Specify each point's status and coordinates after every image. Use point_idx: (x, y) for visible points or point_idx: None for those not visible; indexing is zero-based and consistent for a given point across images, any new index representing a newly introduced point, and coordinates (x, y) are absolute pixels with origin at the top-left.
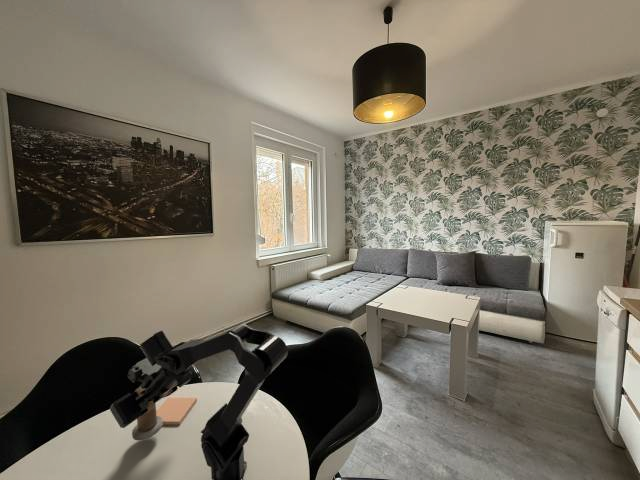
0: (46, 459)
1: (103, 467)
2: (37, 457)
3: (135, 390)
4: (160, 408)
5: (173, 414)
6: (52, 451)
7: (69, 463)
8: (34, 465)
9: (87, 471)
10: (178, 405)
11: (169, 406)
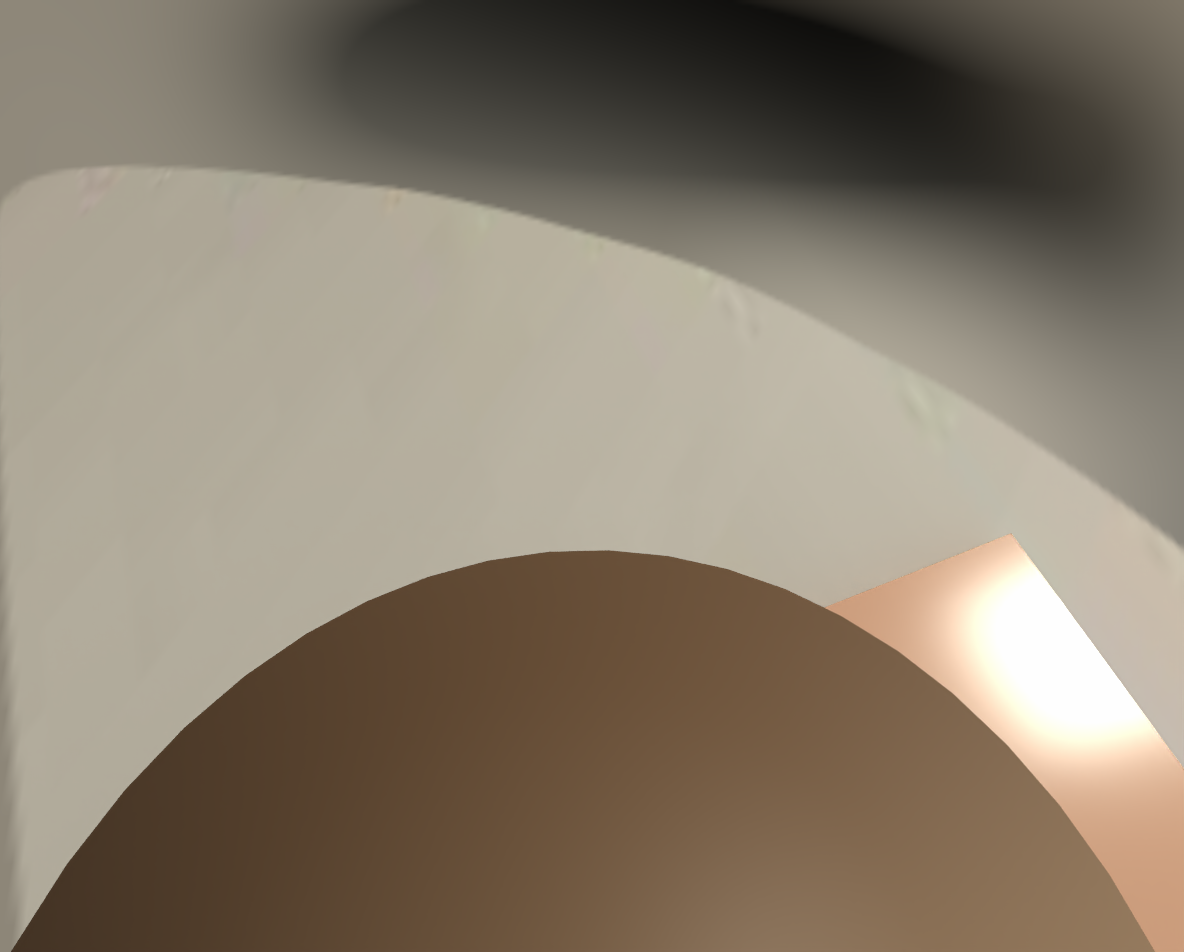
0: (124, 260)
1: None
2: (132, 196)
3: (297, 650)
4: (875, 614)
5: None
6: (193, 227)
7: (111, 446)
8: (68, 243)
9: (46, 699)
10: None
11: (959, 692)
